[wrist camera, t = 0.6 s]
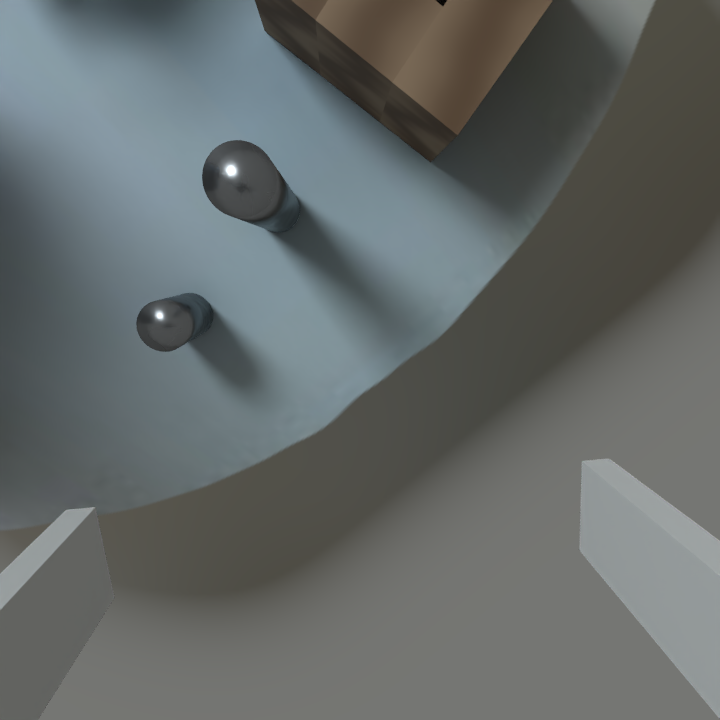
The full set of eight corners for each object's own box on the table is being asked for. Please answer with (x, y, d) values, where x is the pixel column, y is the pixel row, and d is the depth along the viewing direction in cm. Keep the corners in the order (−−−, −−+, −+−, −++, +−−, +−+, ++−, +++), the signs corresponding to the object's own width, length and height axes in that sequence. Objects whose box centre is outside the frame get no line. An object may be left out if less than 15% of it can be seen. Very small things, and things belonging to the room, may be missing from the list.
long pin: (246, 214, 35) (188, 188, 21) (271, 176, 35) (228, 124, 21) (283, 241, 36) (250, 232, 22) (308, 203, 35) (290, 171, 21)
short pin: (160, 319, 36) (126, 332, 31) (183, 284, 36) (153, 290, 30) (198, 344, 37) (171, 361, 31) (221, 309, 36) (198, 320, 31)
